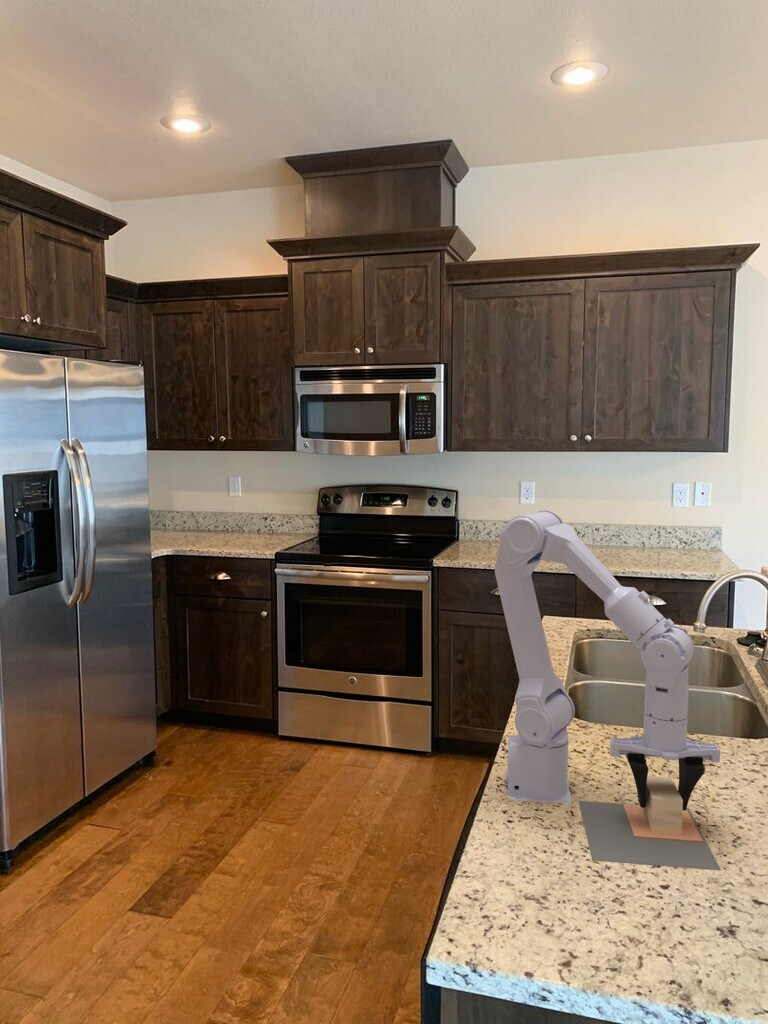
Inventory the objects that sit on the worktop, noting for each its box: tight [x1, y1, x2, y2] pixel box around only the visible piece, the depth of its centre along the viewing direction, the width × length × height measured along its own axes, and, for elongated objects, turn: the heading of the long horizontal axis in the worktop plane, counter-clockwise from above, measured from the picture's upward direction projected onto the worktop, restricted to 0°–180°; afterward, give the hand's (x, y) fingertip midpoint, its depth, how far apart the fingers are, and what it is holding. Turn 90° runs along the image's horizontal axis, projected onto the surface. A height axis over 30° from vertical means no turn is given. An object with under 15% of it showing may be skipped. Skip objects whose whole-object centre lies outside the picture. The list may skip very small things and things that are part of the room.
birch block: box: [641, 775, 683, 835], centre depth 107 cm, size 7×4×5 cm, turn 172°
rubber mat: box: [578, 800, 722, 872], centre depth 104 cm, size 16×16×1 cm
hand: (661, 805), depth 107 cm, fingers open, 5 cm apart
